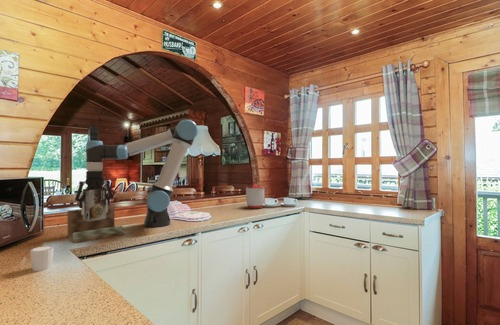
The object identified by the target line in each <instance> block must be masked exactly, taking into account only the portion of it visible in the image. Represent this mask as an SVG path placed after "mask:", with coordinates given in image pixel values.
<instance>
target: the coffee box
mask: <svg viewBox="0 0 500 325" xmlns="http://www.w3.org/2000/svg"><path fill="white" fill-rule="evenodd" d="M85 192H86V197H85V198H84V200H83V202H84V215H83V220H84V221H89V222H90V221H95V220H100V219H105V218H106V193H107V188H104V187H103V189H100V188H94V189H86V188H82V194H83V193H85Z"/></svg>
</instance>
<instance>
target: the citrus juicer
mask: <svg viewBox="0 0 500 325" xmlns="http://www.w3.org/2000/svg"><path fill="white" fill-rule="evenodd" d="M245 199H246V200H245V201H246V204H247V207H248V208H249V209H253V210H257V209H262V208H263V207H264V204H265V186H259V185H258V184H257V183H254V184H252V186H251V187H248V186H245Z"/></svg>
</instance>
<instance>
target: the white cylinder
mask: <svg viewBox="0 0 500 325" xmlns="http://www.w3.org/2000/svg"><path fill="white" fill-rule="evenodd" d="M54 248H55V247H54V246H53V245H46V246H38V247H37V246H36V247H34V248H32V249H30V250H29V254H30V262H31V263H30V264H31V269H32V270H31V271H32V272H40V271H45V270H49V269H51V268H52V267H53V259H54V251H55V250H54Z"/></svg>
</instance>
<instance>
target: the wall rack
mask: <svg viewBox="0 0 500 325" xmlns="http://www.w3.org/2000/svg"><path fill="white" fill-rule="evenodd" d="M66 211H67V235H66V236H67V237H68V238H69V239H70V241H72V242H73V244H80V243H85V242H86V243H87V242H90V241H91V242H92V241H97V240H102V239H109V238H113V237H114V236H115V237H120V236H124V235H125V232H123V226H122V225H116V226H115V222H116V221H115V205H112V206H111V205H109V206H108V212H106V218H105V219H100V220H95V221H90V222H89V221H84V220H83V215H82V214H81V209H73V210H66Z"/></svg>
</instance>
